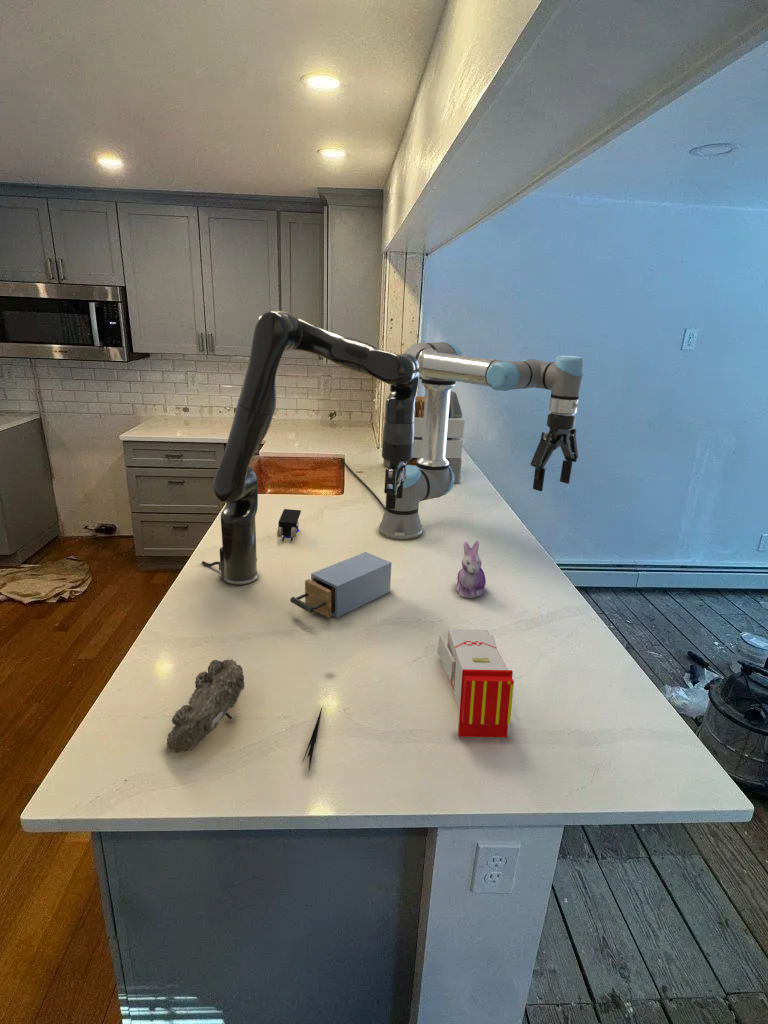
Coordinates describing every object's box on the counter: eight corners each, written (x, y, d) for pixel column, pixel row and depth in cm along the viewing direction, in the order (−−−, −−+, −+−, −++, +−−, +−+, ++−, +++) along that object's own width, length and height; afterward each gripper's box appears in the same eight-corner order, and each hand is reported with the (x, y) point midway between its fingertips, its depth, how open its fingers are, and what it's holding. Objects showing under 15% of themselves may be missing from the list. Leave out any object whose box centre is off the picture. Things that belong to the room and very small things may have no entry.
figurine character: (296, 548, 187) (302, 526, 201) (296, 527, 184) (301, 507, 198) (276, 547, 187) (283, 526, 201) (275, 527, 184) (282, 507, 197)
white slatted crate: (382, 463, 289) (386, 382, 275) (445, 464, 293) (451, 384, 279) (390, 482, 257) (394, 392, 243) (460, 483, 261) (468, 394, 247)
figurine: (467, 602, 155) (472, 552, 149) (446, 586, 163) (450, 538, 158) (494, 596, 159) (500, 546, 154) (473, 580, 167) (478, 533, 162)
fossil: (192, 660, 117) (244, 628, 112) (224, 691, 120) (276, 661, 115) (142, 746, 98) (202, 712, 93) (182, 779, 101) (242, 748, 96)
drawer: (311, 625, 139) (311, 599, 136) (288, 612, 144) (288, 587, 142) (379, 592, 156) (380, 568, 154) (357, 581, 162) (357, 559, 159)
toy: (488, 613, 130) (523, 677, 101) (484, 667, 133) (517, 744, 104) (435, 612, 130) (455, 676, 101) (432, 666, 133) (451, 743, 103)
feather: (331, 679, 122) (336, 673, 122) (307, 777, 96) (313, 769, 95) (324, 675, 122) (329, 669, 121) (298, 772, 95) (304, 764, 95)
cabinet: (336, 617, 144) (337, 586, 141) (311, 603, 151) (311, 573, 147) (390, 591, 159) (391, 562, 156) (364, 580, 165) (365, 551, 162)
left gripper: (389, 432, 144) (386, 493, 150) (375, 444, 131) (373, 510, 136) (418, 435, 143) (414, 496, 148) (407, 447, 129) (403, 514, 135)
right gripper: (547, 419, 148) (536, 496, 155) (598, 412, 163) (585, 482, 171) (523, 414, 153) (514, 489, 160) (574, 408, 169) (564, 476, 176)
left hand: (394, 503), depth 142 cm, fingers open, 8 cm apart
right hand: (551, 486), depth 165 cm, fingers open, 13 cm apart
